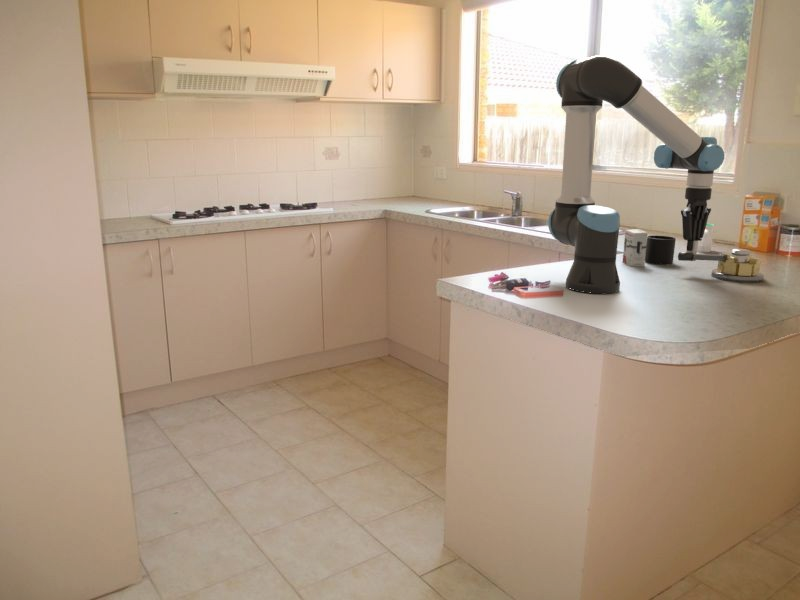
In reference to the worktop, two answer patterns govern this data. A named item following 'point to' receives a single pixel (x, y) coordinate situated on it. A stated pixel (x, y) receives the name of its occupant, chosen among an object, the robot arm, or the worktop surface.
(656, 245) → the mug
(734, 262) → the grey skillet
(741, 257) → the flange
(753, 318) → the worktop surface
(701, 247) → the mug
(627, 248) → the ink box
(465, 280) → the worktop surface
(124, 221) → the worktop surface
